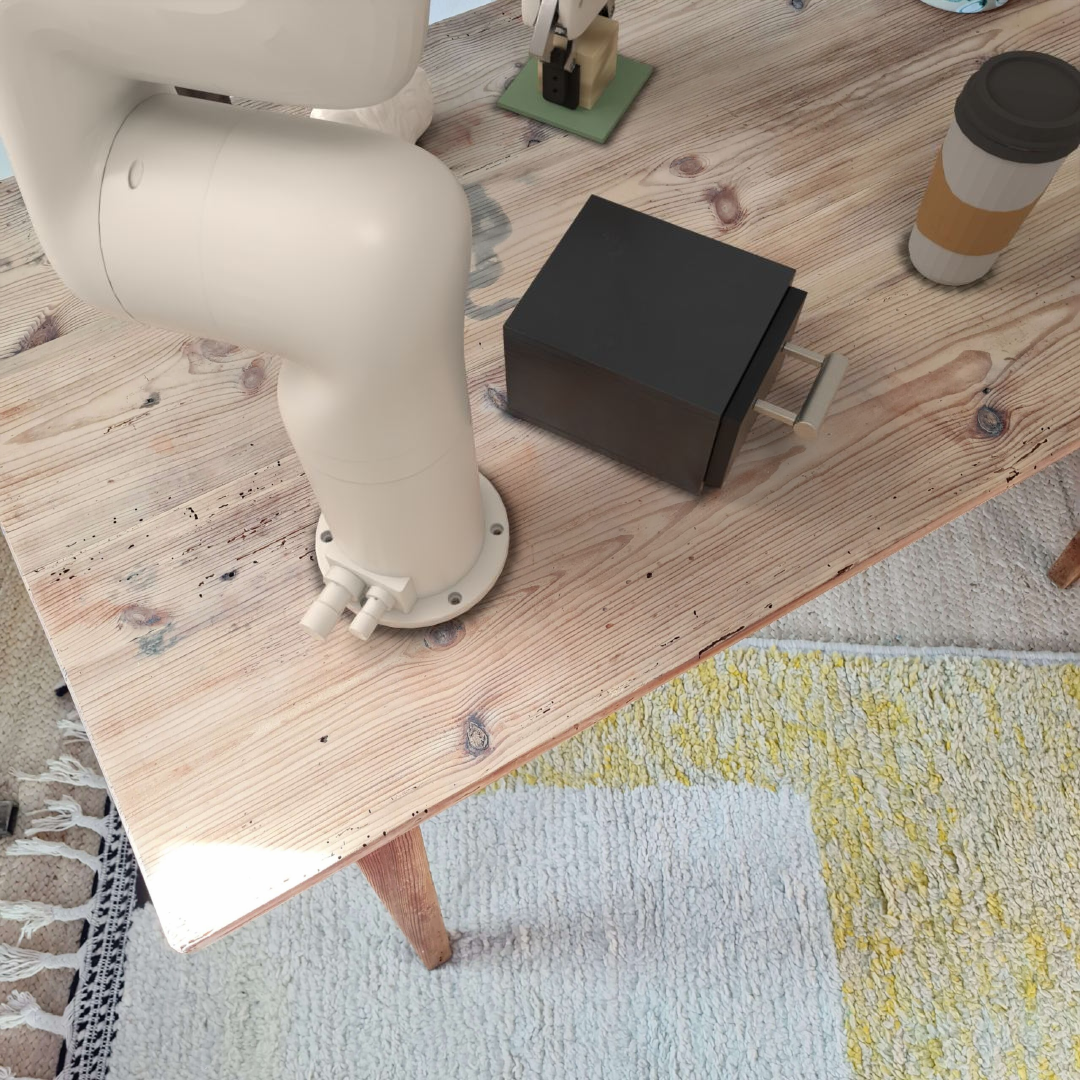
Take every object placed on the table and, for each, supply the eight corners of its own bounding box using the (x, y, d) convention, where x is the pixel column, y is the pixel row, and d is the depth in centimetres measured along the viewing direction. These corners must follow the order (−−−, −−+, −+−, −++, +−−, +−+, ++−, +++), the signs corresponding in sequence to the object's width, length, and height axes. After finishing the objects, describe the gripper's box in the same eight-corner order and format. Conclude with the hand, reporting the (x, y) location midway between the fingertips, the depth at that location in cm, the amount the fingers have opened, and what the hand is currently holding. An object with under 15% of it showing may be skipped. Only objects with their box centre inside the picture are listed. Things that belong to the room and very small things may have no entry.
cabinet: (766, 361, 71) (797, 269, 62) (698, 496, 66) (720, 415, 57) (586, 290, 74) (591, 193, 65) (507, 413, 69) (502, 325, 60)
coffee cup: (1003, 306, 73) (1106, 143, 59) (890, 289, 74) (966, 124, 60) (1002, 224, 77) (1099, 53, 63) (894, 209, 77) (967, 37, 64)
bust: (429, 133, 85) (362, -1, 79) (470, 123, 79) (401, -23, 73) (318, 202, 81) (240, 67, 76) (353, 198, 75) (271, 50, 69)
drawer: (839, 388, 69) (872, 315, 62) (781, 515, 64) (809, 452, 57) (611, 298, 72) (617, 220, 65) (540, 412, 68) (539, 341, 61)
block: (590, 110, 82) (592, 57, 78) (537, 92, 83) (537, 39, 79) (615, 74, 84) (619, 21, 80) (564, 57, 85) (565, 3, 81)
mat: (603, 144, 81) (603, 139, 80) (497, 106, 83) (497, 101, 83) (652, 71, 85) (653, 66, 84) (550, 37, 87) (550, 32, 87)
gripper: (588, -221, 71) (581, 11, 88) (475, -96, 65) (490, 130, 81) (682, -195, 70) (657, 36, 86) (576, -65, 63) (570, 159, 79)
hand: (576, 79), depth 83 cm, fingers open, 5 cm apart
